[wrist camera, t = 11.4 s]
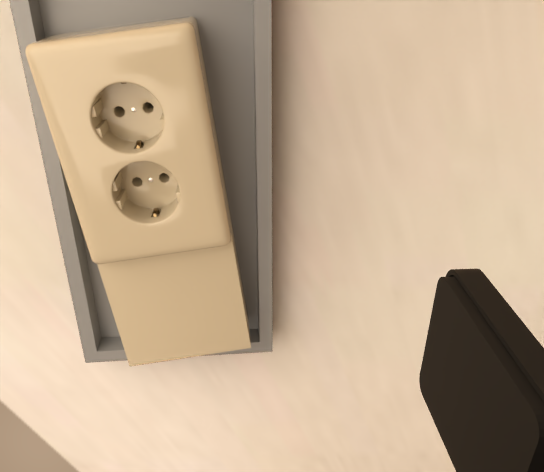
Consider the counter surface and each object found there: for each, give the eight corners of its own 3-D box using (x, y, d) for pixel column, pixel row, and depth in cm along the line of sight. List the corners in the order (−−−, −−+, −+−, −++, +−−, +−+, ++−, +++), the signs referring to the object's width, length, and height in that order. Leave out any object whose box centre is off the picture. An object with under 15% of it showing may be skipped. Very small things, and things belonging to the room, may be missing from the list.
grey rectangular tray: (15, -55, 24) (-3, -57, 22) (267, -54, 25) (271, -56, 23) (93, 340, 34) (85, 362, 32) (269, 330, 35) (272, 351, 33)
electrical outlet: (127, 377, 30) (19, 46, 21) (137, 333, 33) (48, 35, 25) (251, 358, 30) (192, 22, 22) (248, 316, 33) (196, 15, 25)
